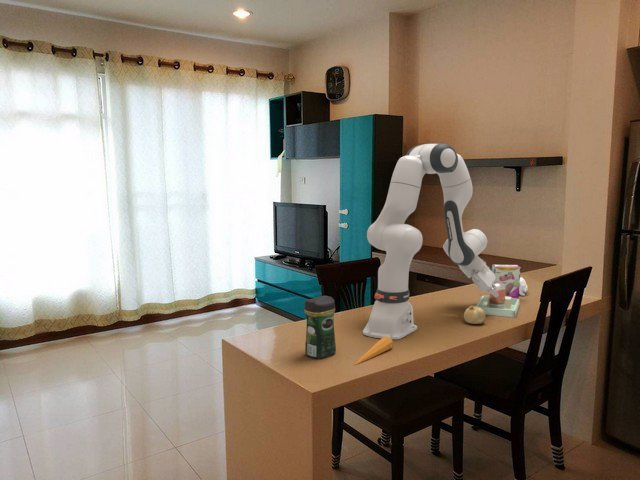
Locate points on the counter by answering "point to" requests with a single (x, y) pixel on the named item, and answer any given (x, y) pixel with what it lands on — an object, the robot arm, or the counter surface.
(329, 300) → the coffee jar
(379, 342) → the carrot
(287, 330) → the counter surface
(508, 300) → the cream rectangular block
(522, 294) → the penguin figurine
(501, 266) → the candy bar box
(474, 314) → the onion
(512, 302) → the mint green tray
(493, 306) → the pink glass candle
